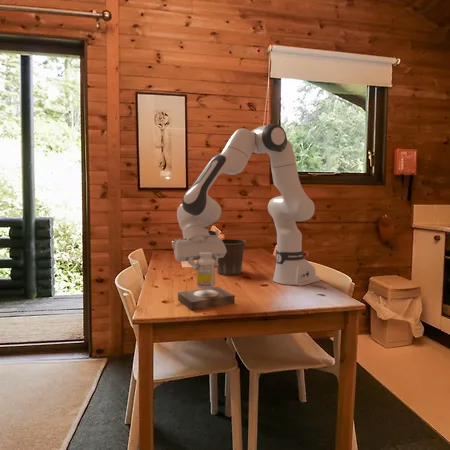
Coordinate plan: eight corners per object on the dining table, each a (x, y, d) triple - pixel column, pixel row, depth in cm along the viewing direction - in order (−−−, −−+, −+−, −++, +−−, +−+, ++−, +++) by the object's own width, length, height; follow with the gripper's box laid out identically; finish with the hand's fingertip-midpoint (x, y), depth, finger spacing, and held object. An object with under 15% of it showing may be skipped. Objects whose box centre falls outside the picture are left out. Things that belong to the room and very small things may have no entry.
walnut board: (218, 294, 138) (218, 286, 138) (234, 303, 127) (234, 294, 126) (178, 300, 130) (178, 291, 130) (191, 310, 119) (191, 301, 118)
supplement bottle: (205, 283, 132) (205, 250, 131) (218, 286, 128) (218, 252, 127) (192, 286, 127) (193, 252, 126) (206, 290, 123) (206, 254, 122)
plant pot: (242, 277, 165) (243, 244, 164) (210, 275, 168) (210, 242, 167) (247, 270, 181) (247, 239, 180) (217, 268, 184) (217, 238, 183)
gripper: (172, 234, 127) (182, 265, 119) (221, 231, 137) (233, 260, 129) (168, 244, 131) (177, 275, 124) (216, 241, 141) (227, 269, 133)
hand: (206, 267), depth 127 cm, fingers closed on supplement bottle, 7 cm apart
